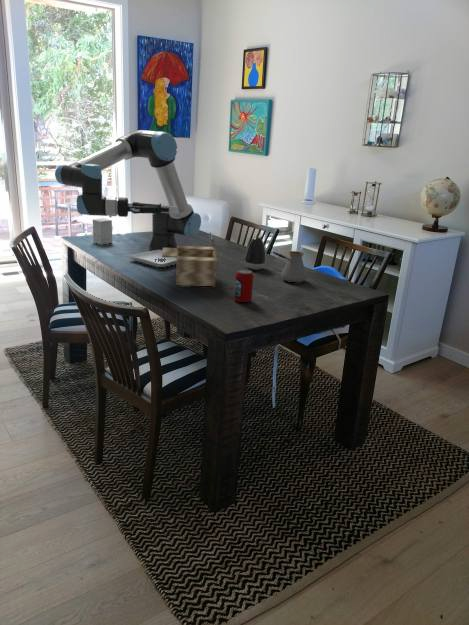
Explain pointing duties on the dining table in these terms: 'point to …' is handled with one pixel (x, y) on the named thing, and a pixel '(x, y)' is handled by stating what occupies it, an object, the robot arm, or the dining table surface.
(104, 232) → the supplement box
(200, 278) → the carton
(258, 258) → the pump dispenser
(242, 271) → the beverage can
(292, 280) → the coffee pot
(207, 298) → the dining table surface
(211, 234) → the carton flap
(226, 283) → the dining table surface
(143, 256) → the salad plate
